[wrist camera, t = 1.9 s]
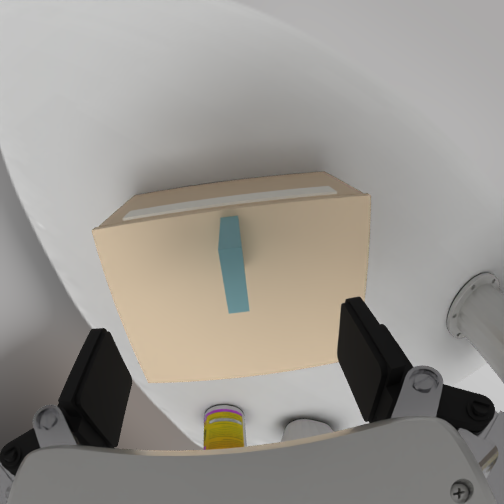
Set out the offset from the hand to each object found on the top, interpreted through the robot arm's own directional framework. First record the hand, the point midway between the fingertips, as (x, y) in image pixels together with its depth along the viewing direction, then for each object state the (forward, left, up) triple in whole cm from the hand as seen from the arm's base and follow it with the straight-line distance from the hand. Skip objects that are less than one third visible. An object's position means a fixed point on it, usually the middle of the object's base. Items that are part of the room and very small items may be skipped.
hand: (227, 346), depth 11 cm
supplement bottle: (+6, +35, -22) cm, 41 cm away
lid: (0, +6, -11) cm, 13 cm away
